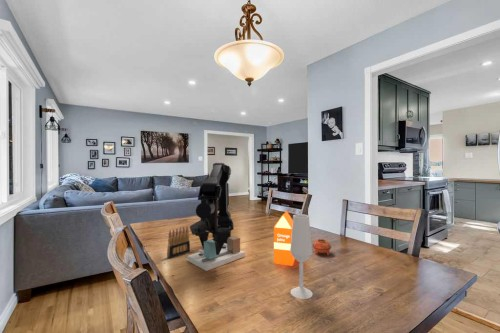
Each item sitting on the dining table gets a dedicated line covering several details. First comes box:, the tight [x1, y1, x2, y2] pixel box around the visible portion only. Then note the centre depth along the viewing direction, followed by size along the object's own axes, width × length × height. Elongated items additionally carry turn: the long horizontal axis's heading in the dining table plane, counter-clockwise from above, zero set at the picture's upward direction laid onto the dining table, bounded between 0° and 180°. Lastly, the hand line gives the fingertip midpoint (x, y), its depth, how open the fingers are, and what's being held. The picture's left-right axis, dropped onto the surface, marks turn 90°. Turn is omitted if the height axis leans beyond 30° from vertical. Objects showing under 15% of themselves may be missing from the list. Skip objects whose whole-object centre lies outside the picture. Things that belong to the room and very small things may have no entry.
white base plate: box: [186, 235, 246, 272], centre depth 101 cm, size 20×14×8 cm
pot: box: [312, 238, 332, 256], centre depth 107 cm, size 8×8×7 cm
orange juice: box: [273, 210, 296, 267], centre depth 99 cm, size 8×9×20 cm
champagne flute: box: [290, 213, 313, 300], centre depth 74 cm, size 7×7×24 cm
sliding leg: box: [198, 239, 218, 259], centre depth 98 cm, size 4×10×7 cm, turn 45°
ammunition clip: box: [166, 225, 191, 259], centre depth 106 cm, size 11×2×12 cm, turn 141°
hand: (210, 251), depth 95 cm, fingers open, 9 cm apart
